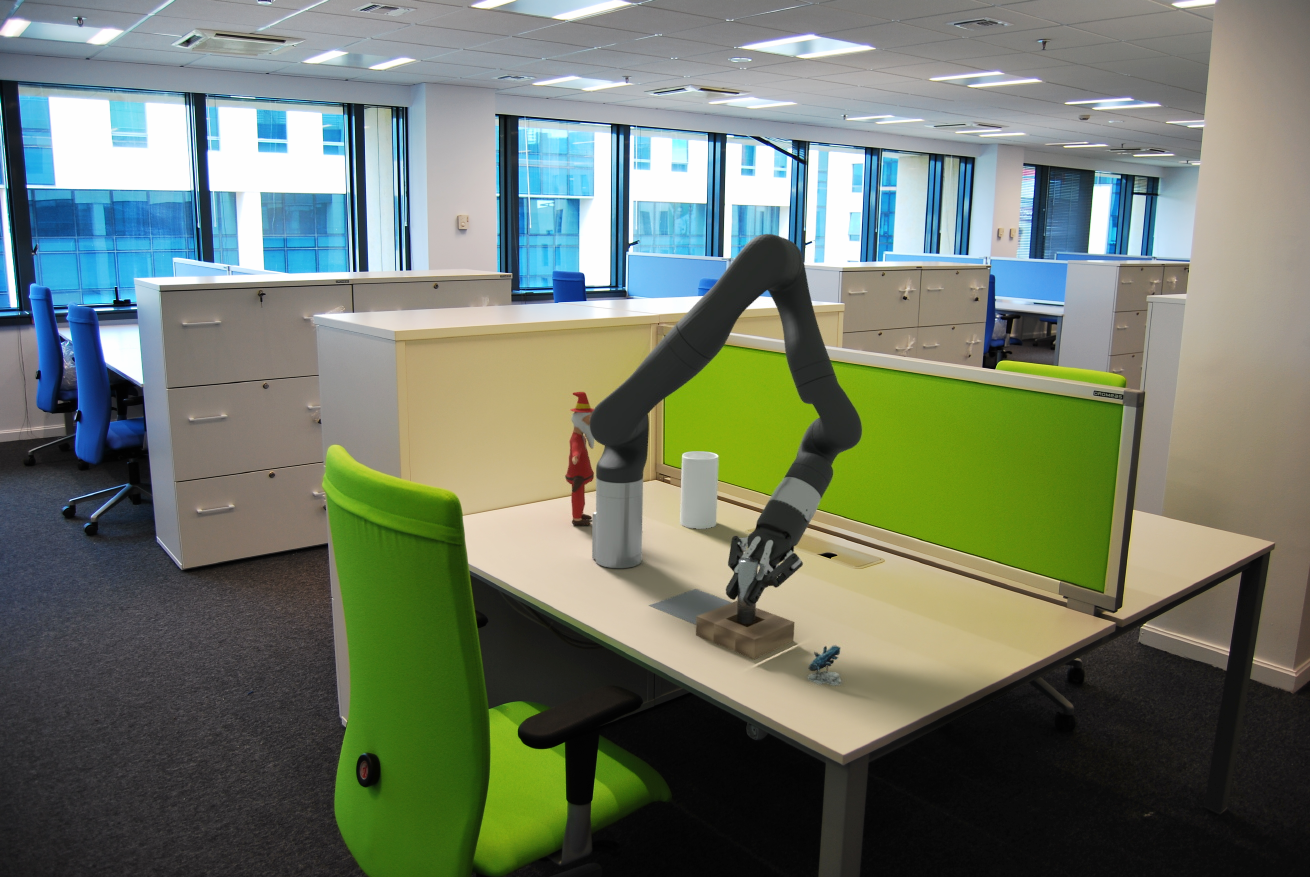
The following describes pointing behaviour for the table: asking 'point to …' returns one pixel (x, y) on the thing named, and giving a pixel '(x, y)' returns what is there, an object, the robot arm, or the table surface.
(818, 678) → the sculpture
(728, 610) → the hole block
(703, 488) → the cup
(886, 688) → the table surface
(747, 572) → the peg
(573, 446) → the figurine
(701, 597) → the mat
